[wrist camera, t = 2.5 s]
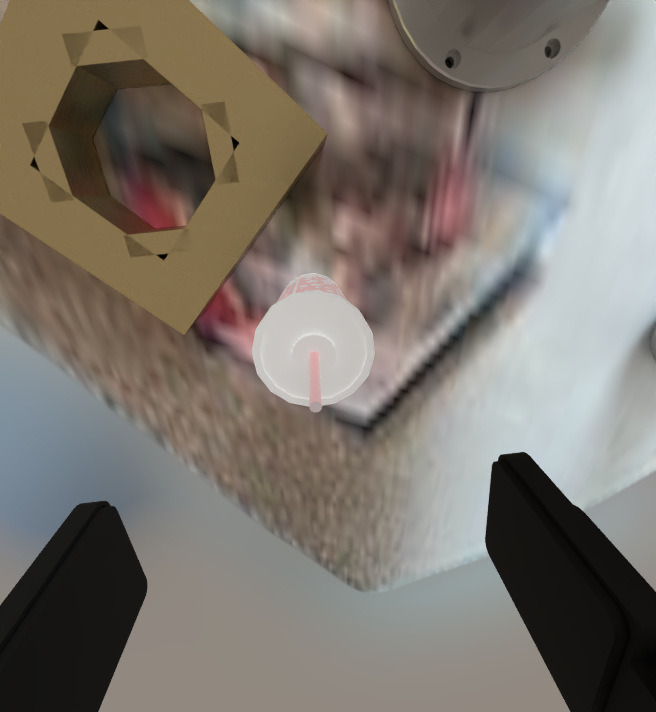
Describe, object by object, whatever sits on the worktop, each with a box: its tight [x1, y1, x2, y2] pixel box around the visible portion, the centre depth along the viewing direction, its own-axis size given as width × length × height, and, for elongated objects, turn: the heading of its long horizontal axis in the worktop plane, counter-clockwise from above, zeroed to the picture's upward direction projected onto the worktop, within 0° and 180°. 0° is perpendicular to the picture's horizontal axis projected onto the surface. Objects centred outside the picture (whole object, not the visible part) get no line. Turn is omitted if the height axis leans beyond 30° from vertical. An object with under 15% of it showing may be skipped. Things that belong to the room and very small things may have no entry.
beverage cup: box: [252, 273, 375, 412], centre depth 20 cm, size 6×6×14 cm
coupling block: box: [0, 0, 328, 335], centre depth 21 cm, size 14×14×4 cm
